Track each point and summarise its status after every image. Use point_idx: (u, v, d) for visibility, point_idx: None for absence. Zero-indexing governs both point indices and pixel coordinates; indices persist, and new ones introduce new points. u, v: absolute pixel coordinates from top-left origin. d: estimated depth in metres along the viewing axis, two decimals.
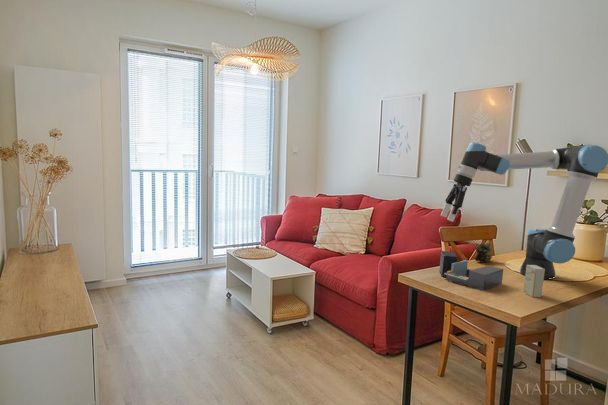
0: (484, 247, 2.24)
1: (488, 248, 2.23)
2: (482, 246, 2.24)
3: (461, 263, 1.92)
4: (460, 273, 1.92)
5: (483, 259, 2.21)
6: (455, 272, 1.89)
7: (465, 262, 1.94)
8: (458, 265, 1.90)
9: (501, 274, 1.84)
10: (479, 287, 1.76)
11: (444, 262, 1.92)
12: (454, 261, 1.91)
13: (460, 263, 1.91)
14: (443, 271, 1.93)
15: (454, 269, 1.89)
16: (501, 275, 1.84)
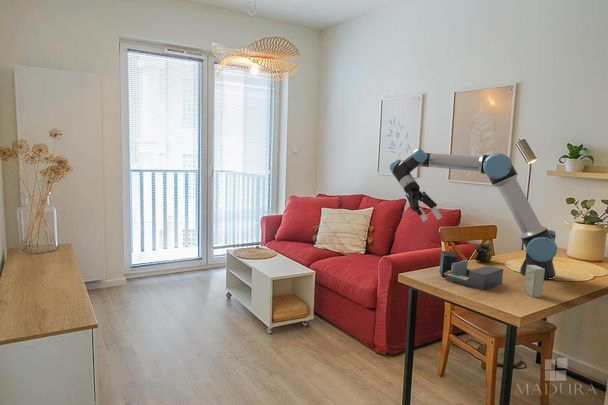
0: (484, 247, 2.24)
1: (488, 248, 2.23)
2: (482, 246, 2.24)
3: (461, 263, 1.92)
4: (460, 273, 1.92)
5: (483, 259, 2.21)
6: (455, 272, 1.89)
7: (465, 262, 1.94)
8: (458, 265, 1.90)
9: (501, 274, 1.84)
10: (479, 287, 1.76)
11: (444, 262, 1.92)
12: (454, 261, 1.91)
13: (460, 263, 1.91)
14: (443, 271, 1.93)
15: (454, 269, 1.89)
16: (501, 275, 1.84)
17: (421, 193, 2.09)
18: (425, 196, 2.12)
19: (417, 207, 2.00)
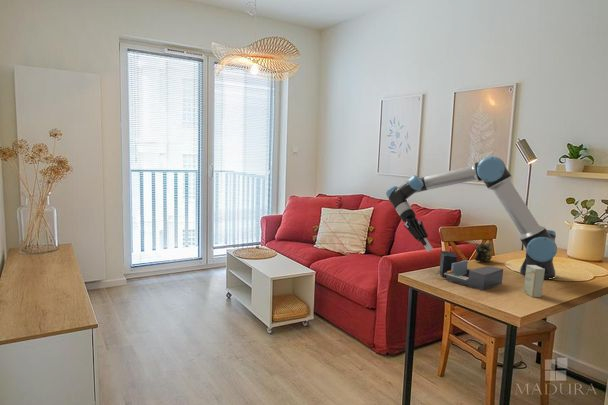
0: (484, 247, 2.24)
1: (488, 248, 2.23)
2: (482, 246, 2.24)
3: (461, 263, 1.92)
4: (460, 273, 1.92)
5: (483, 259, 2.21)
6: (455, 272, 1.89)
7: (465, 262, 1.94)
8: (458, 265, 1.90)
9: (501, 274, 1.84)
10: (479, 287, 1.76)
11: (444, 262, 1.92)
12: (454, 261, 1.91)
13: (460, 263, 1.91)
14: (443, 271, 1.93)
15: (454, 269, 1.89)
16: (501, 275, 1.84)
17: (416, 221, 2.11)
18: (420, 225, 2.13)
19: (422, 238, 2.05)
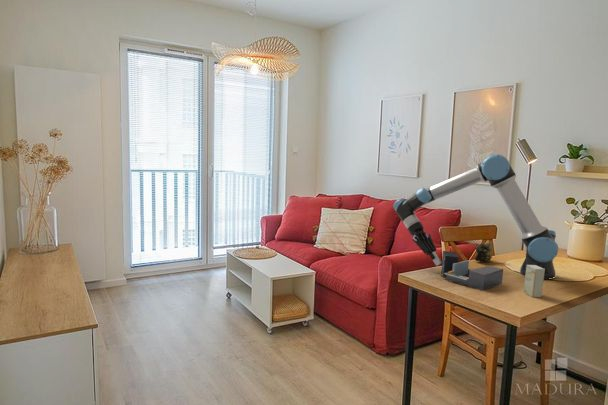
0: (484, 247, 2.24)
1: (488, 248, 2.23)
2: (482, 246, 2.24)
3: (462, 263, 1.91)
4: (461, 273, 1.92)
5: (483, 259, 2.21)
6: (456, 272, 1.89)
7: (466, 262, 1.94)
8: (459, 265, 1.90)
9: (501, 274, 1.84)
10: (479, 287, 1.76)
11: (445, 262, 1.92)
12: (455, 261, 1.91)
13: (461, 263, 1.91)
14: (444, 271, 1.92)
15: (455, 270, 1.88)
16: (501, 275, 1.84)
17: (425, 234, 2.08)
18: (428, 238, 2.09)
19: (431, 252, 2.02)
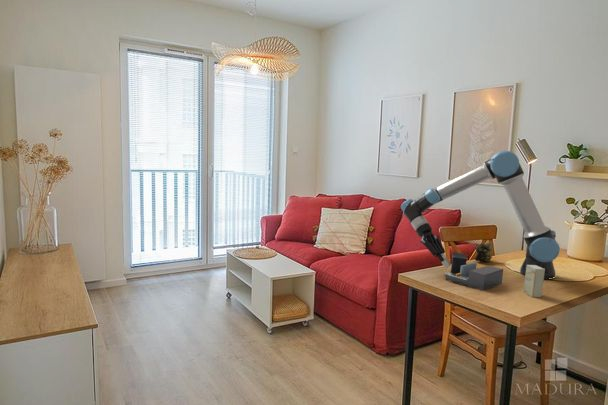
0: (484, 247, 2.24)
1: (488, 248, 2.23)
2: (482, 246, 2.24)
3: (470, 265, 1.88)
4: None
5: (483, 259, 2.21)
6: (464, 274, 1.86)
7: (474, 264, 1.90)
8: (467, 267, 1.87)
9: (501, 274, 1.84)
10: (479, 287, 1.76)
11: (453, 264, 1.89)
12: (463, 263, 1.88)
13: (469, 265, 1.88)
14: None
15: (463, 272, 1.85)
16: (501, 275, 1.84)
17: (433, 235, 2.04)
18: (437, 240, 2.06)
19: (439, 254, 1.98)
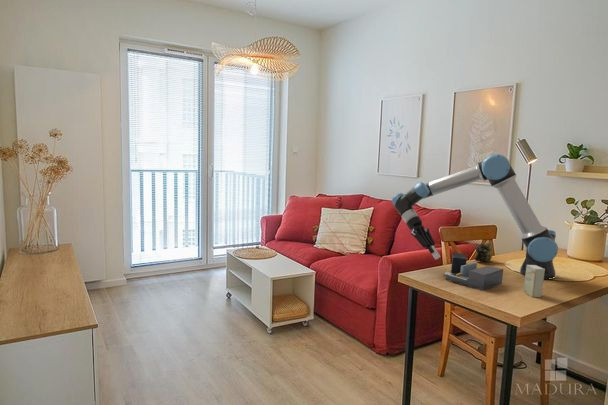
0: (484, 247, 2.24)
1: (488, 248, 2.23)
2: (482, 246, 2.24)
3: (470, 265, 1.88)
4: None
5: (483, 259, 2.21)
6: (464, 275, 1.86)
7: (474, 264, 1.90)
8: (467, 267, 1.87)
9: (501, 274, 1.84)
10: (479, 287, 1.76)
11: (453, 264, 1.89)
12: (463, 263, 1.88)
13: (469, 265, 1.88)
14: None
15: (463, 272, 1.85)
16: (501, 275, 1.84)
17: (423, 228, 2.08)
18: (427, 232, 2.10)
19: (429, 245, 2.02)
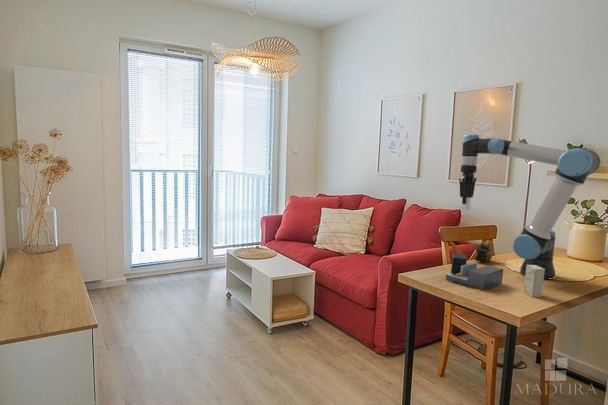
0: (484, 247, 2.24)
1: (488, 248, 2.23)
2: (482, 246, 2.24)
3: (470, 265, 1.88)
4: None
5: (483, 259, 2.21)
6: (464, 275, 1.86)
7: (474, 264, 1.90)
8: (467, 267, 1.87)
9: (501, 274, 1.84)
10: (479, 287, 1.76)
11: (453, 264, 1.89)
12: (463, 263, 1.88)
13: (469, 265, 1.88)
14: None
15: (463, 272, 1.85)
16: (501, 275, 1.84)
17: (472, 178, 2.12)
18: None
19: (465, 197, 2.11)
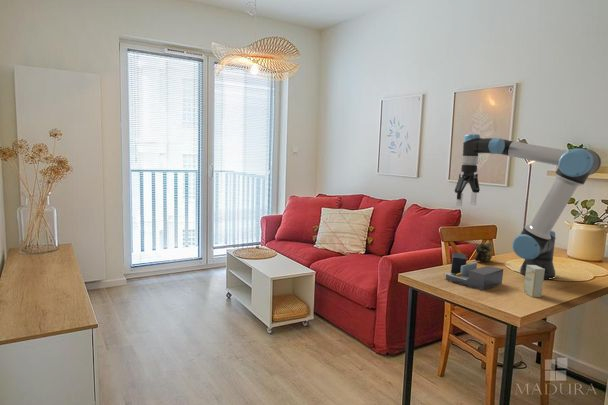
0: (484, 247, 2.24)
1: (488, 248, 2.23)
2: (482, 246, 2.24)
3: (470, 265, 1.88)
4: None
5: (483, 259, 2.21)
6: (464, 275, 1.86)
7: (474, 264, 1.90)
8: (467, 267, 1.87)
9: (501, 274, 1.84)
10: (479, 287, 1.76)
11: (453, 264, 1.89)
12: (463, 263, 1.88)
13: (469, 265, 1.88)
14: None
15: (463, 272, 1.85)
16: (501, 275, 1.84)
17: (473, 178, 2.12)
18: (475, 179, 2.16)
19: (460, 192, 2.07)
